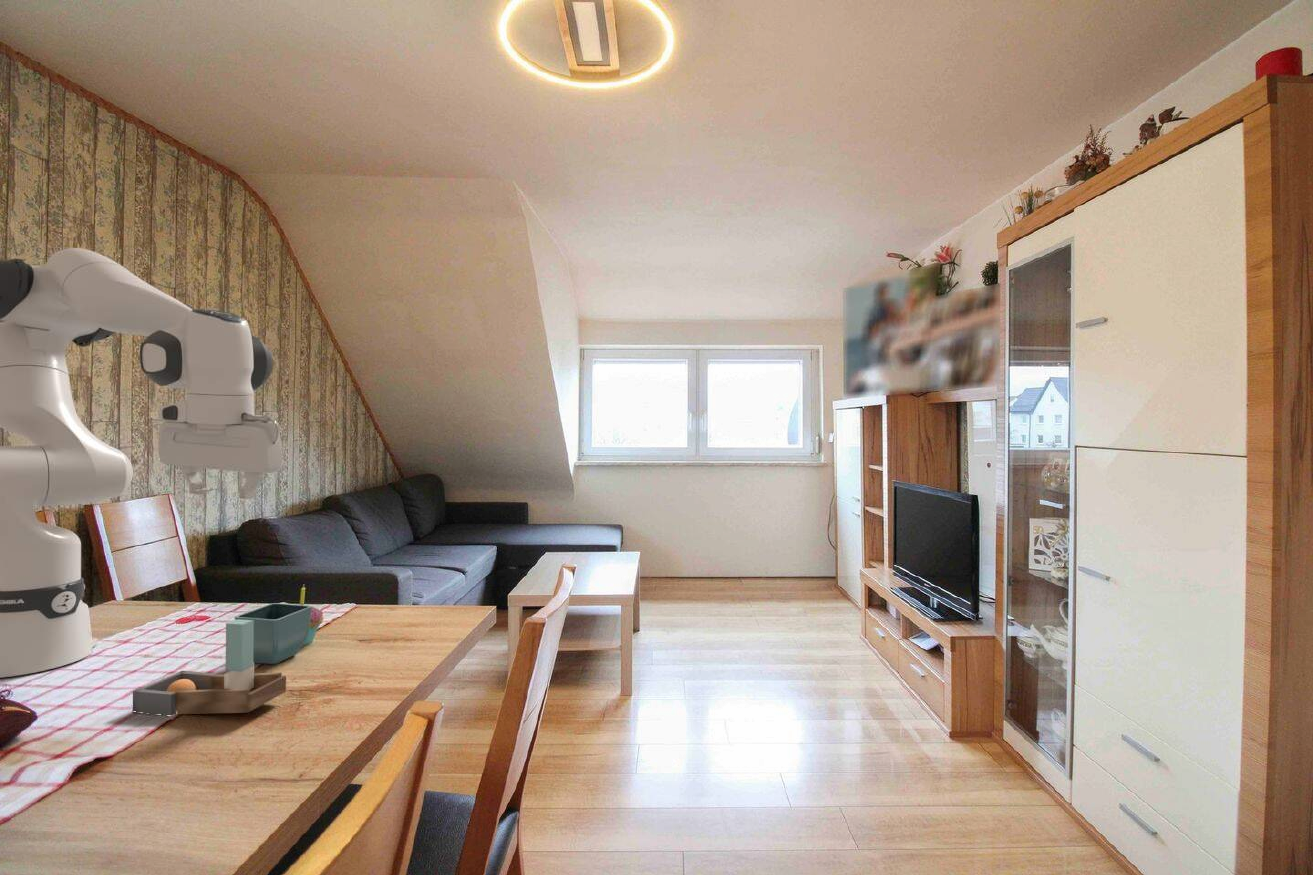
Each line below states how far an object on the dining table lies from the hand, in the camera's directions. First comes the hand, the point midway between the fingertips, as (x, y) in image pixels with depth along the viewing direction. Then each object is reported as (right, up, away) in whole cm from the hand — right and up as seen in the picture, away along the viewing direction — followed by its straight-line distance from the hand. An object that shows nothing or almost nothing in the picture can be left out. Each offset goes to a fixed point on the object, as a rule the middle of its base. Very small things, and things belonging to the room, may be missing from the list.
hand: (222, 496), depth 95 cm
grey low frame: (-3, -31, -6) cm, 32 cm away
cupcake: (0, -32, +20) cm, 38 cm away
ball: (-2, -30, -6) cm, 30 cm away
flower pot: (+1, -32, +12) cm, 34 cm away
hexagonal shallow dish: (+7, -31, -7) cm, 33 cm away
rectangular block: (+8, -29, -7) cm, 31 cm away
